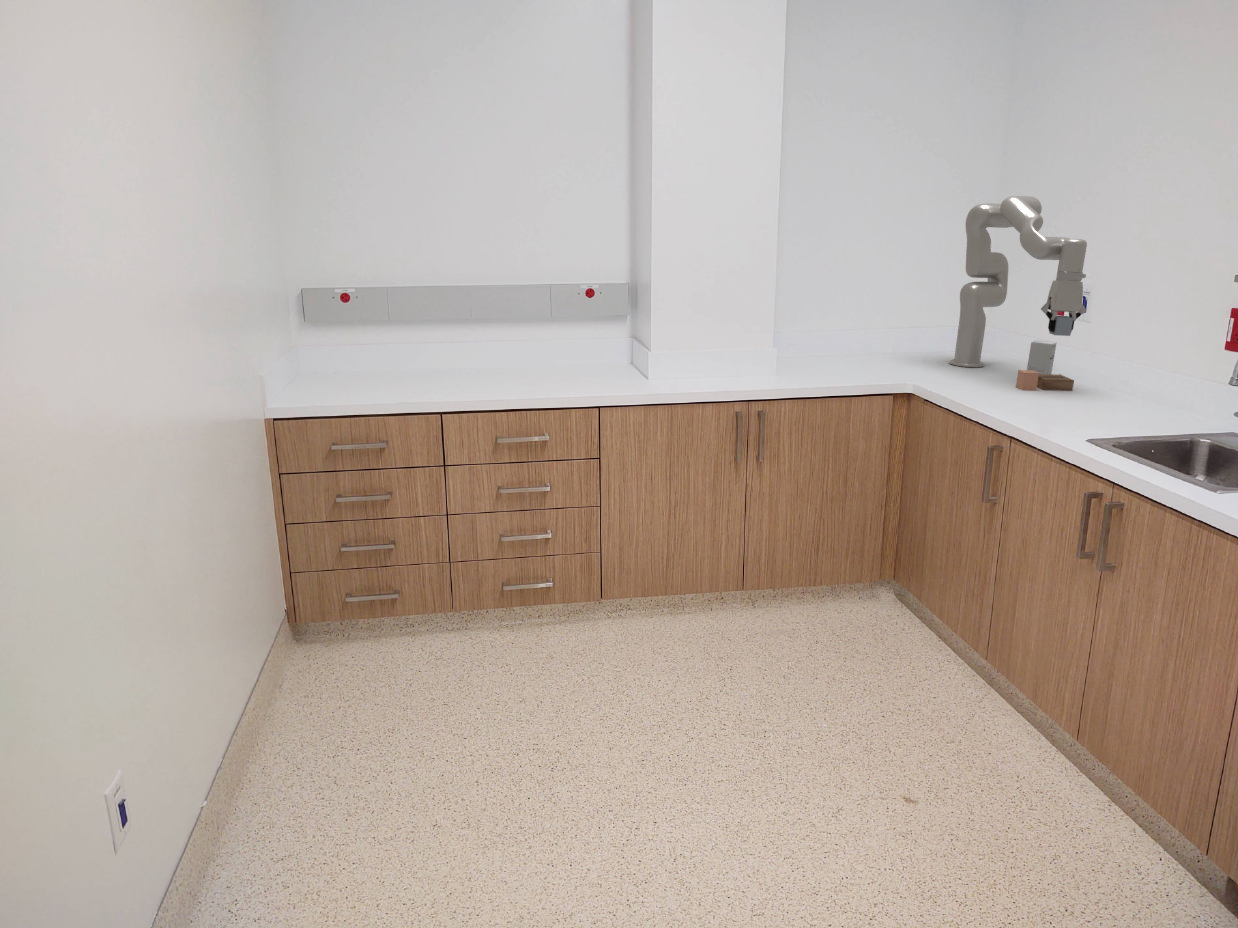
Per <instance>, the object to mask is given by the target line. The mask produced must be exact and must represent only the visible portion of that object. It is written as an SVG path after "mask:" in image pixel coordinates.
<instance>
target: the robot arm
mask: <svg viewBox="0 0 1238 928" xmlns="http://www.w3.org/2000/svg"><path fill="white" fill-rule="evenodd" d="M1042 209H1043V207H1042V202H1041V201H1040V199H1038V198H1037V197H1035V196H1029V195H1028V196H1027V195H1026V196H1025V195H1024V196H1023V195H1022V196H1020V195H1011V196H1008V197H1006V198H1005V199H1004V200H1003V201H1001V203H991V202H990V203H989V202H988V203H979V204H977V205H975V206H972V208H971V209H970V210H969V211H968V214H967V215H966V219H965V234H966V248H965V249H966V250H965V253H966V254H965V273H966V275H967V276H968V277H970V278H975V279H987V281H971V282H967V283H965V284H963V286H962V287H961V289H960V292H959V303H960V305H959V306H960V308H959V310H960V311H959V320H958V329H957V335H956V336H957V337H956V342H955V343H956V344H955V351H954V359H950V360H949V364H950V365H952V366H956V367H963V368H983V367H985V362H983V361H982V360H981V359H982V351H983V345H984V338H985V330H986V325H987V324H986V322H987V317H986V316H987V315H986V313H985V310H984V308H995V307H996V308H997V307H1000V306H1001V305H1003V304H1004V302H1005V301H1006V299H1007V295H1008V285H1009V284H1008V281H1009V262H1008V259H1007V257H1006V255H1005V254H1003V253H1001V252H997V251H994V252H993V251H992V249H991V248H992V239H991V236H990V235H991V234H990V233H989V231H988V230H987V228H999V229H1000V228H1003V229H1005V228H1008V229H1009V228H1014V230H1016V231H1017V232H1018V233H1019V242H1020V246H1021V248H1022V249H1023V250H1025V252H1026V253H1027V254H1028V255H1029V256H1031V257H1032V258H1034V259H1036V260H1040V261H1041V260H1042V261H1046V260H1047V261H1051V260H1052V261H1058V265H1057V272H1056V276H1055V277H1056V278H1055V280H1053V281H1052V282H1051V285H1050V287H1049V288H1050V289H1049V291H1048V296H1047V300H1046V302H1045V304H1043V305H1042V307H1041V308H1040V310H1041V312H1042V313H1043V314H1044V315H1045V316H1046V317H1047V318H1048V320H1049V321H1048V326H1047V328H1048V332H1049V331H1050V332H1054V331H1055V325H1056V320H1055V318H1056V316H1058V313H1059V312H1061V313H1063V312H1064V313H1065V312H1066V313H1067V312H1068V316H1069V317H1072V318H1073V323H1072V329H1071V333H1072V331H1073V330H1074V325H1075V321H1077V319H1078V318H1079V317H1081V316H1082V315H1083V314H1085V313H1086V312H1087V309H1086V306H1085V305H1084V303H1083V299H1084V298H1083V297H1084V283H1083V281H1082V279H1085V278H1087V274H1086V273H1084V271H1083V269H1084V266H1085V265H1084V264H1085V258H1086V252H1087V247H1088V242H1087V241H1086V240H1085V239H1082V238H1081V239H1079V238H1069V237H1063V236H1059V237H1058V236H1043V235H1042V234H1040V233H1039V232H1040V230H1041V229H1042V227H1043V224H1044V218H1043V216H1042V215H1041V213H1042ZM1049 310H1050V311H1049Z"/></svg>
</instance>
